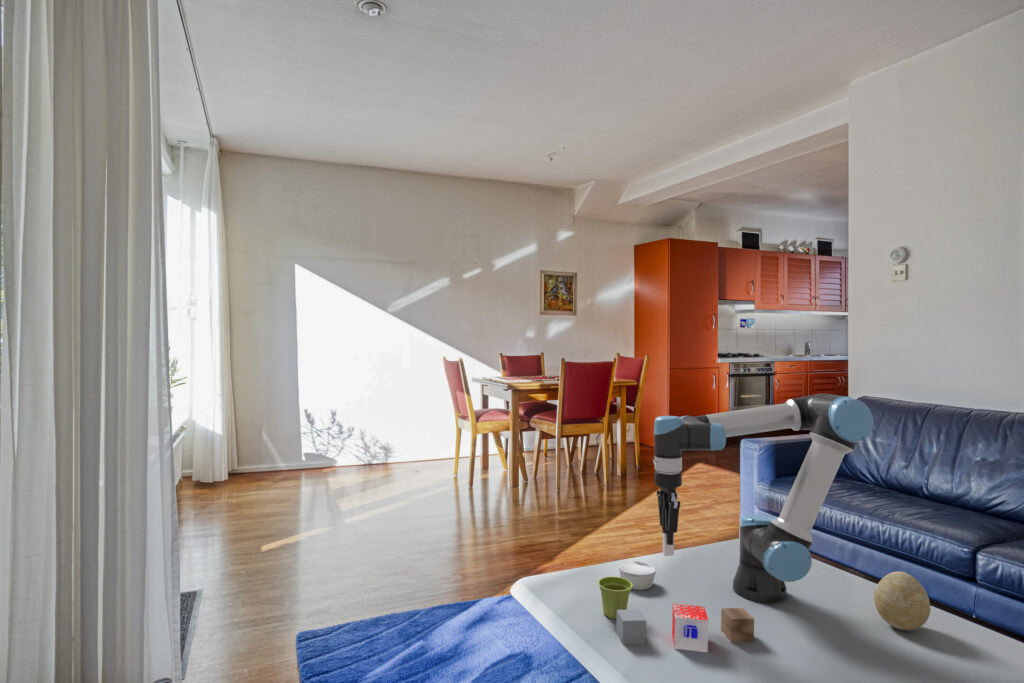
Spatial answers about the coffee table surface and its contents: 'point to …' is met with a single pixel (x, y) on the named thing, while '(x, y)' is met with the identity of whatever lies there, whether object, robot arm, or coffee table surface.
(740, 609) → the walnut block
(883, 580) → the fossilized egg
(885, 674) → the coffee table surface
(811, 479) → the robot arm
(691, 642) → the puzzle cube
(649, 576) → the ramekin
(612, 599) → the plant pot
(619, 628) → the slate grey block
